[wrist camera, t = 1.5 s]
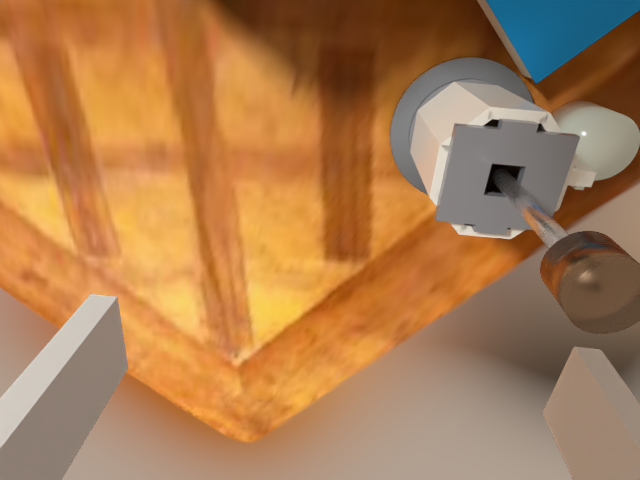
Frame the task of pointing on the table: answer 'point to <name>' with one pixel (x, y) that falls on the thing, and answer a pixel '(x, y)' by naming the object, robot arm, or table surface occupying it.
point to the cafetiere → (490, 156)
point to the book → (552, 29)
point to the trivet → (429, 83)
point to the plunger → (581, 267)
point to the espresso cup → (599, 136)
